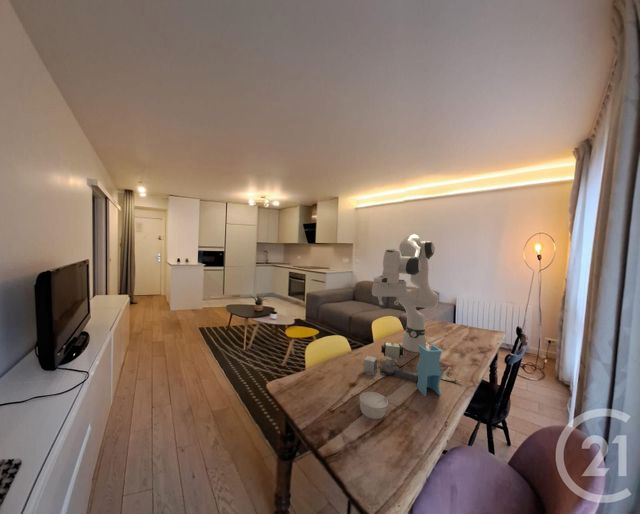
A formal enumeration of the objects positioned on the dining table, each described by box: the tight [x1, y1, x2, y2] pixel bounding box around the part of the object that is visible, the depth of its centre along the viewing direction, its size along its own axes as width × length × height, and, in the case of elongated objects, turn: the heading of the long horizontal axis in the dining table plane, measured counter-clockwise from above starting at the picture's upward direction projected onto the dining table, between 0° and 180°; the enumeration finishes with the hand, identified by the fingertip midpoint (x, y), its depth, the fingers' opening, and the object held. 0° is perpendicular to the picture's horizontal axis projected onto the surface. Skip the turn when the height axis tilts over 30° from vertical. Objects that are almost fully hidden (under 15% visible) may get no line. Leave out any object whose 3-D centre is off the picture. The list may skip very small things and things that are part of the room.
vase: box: [416, 344, 443, 397], centre depth 123 cm, size 8×8×20 cm
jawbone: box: [440, 366, 463, 384], centre depth 141 cm, size 9×20×2 cm, turn 169°
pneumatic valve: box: [380, 342, 404, 365], centre depth 151 cm, size 6×12×12 cm, turn 78°
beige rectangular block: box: [362, 355, 378, 376], centre depth 139 cm, size 5×5×7 cm
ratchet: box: [380, 356, 418, 383], centre depth 136 cm, size 8×24×8 cm, turn 59°
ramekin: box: [358, 391, 389, 420], centre depth 105 cm, size 11×11×5 cm
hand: (388, 304), depth 143 cm, fingers open, 8 cm apart
